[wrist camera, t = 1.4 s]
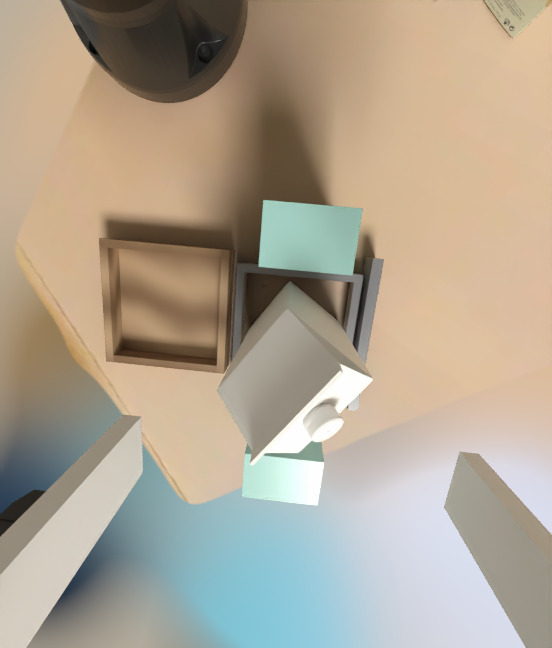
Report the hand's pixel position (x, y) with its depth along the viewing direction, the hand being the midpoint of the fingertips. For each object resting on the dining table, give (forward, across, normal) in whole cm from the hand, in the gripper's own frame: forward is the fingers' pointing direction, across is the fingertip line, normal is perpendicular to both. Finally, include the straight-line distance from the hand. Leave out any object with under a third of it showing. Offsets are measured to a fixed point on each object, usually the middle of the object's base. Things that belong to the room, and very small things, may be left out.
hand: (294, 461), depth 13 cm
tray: (+22, -14, +1) cm, 26 cm away
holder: (+22, 0, 0) cm, 22 cm away
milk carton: (+22, 0, 0) cm, 22 cm away
